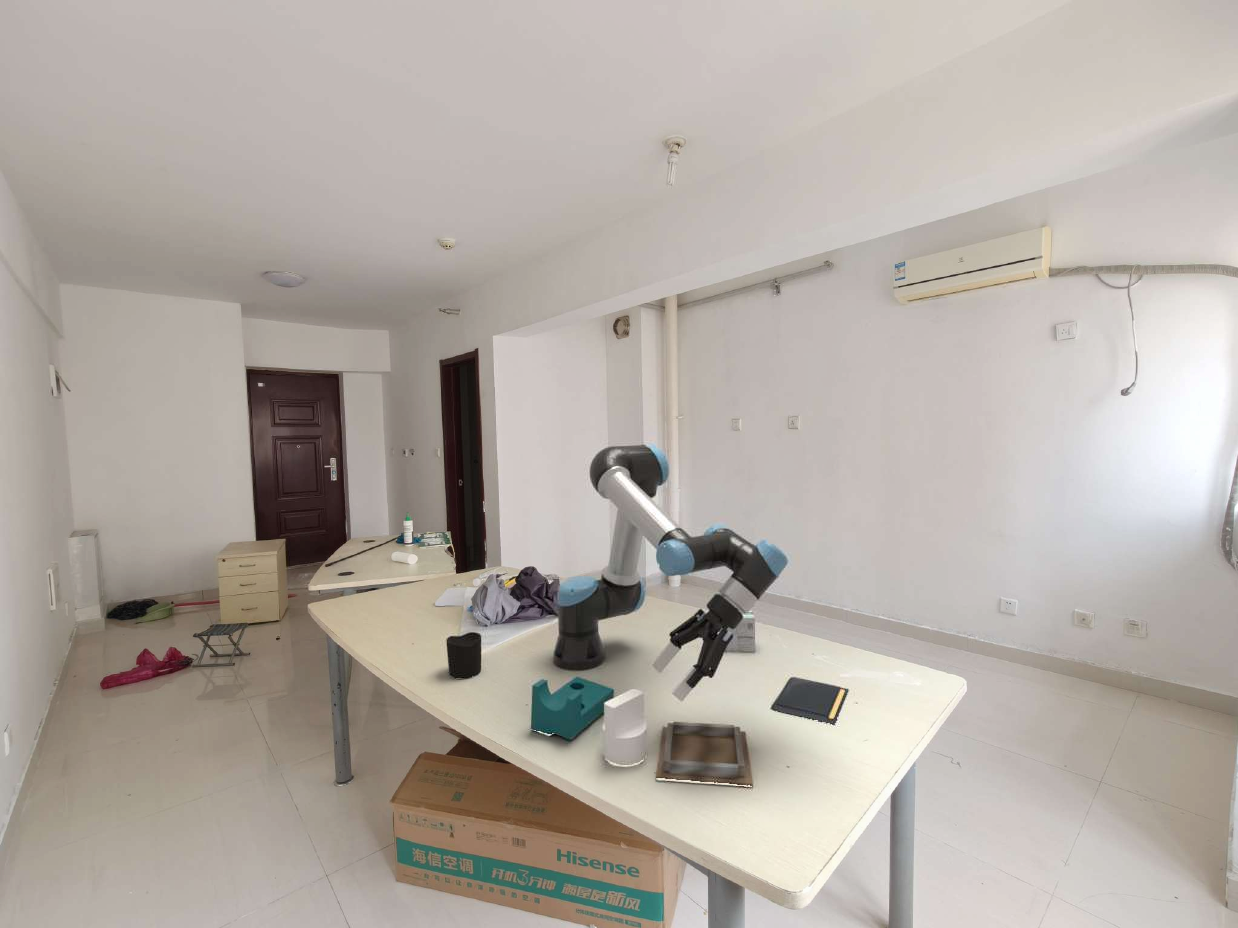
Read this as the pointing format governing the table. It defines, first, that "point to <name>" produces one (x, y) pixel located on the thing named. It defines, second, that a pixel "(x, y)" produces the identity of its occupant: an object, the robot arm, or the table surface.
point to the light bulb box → (743, 635)
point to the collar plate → (704, 753)
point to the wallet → (811, 700)
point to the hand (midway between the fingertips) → (665, 682)
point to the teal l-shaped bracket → (567, 706)
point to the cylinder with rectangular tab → (625, 729)
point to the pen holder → (464, 655)
